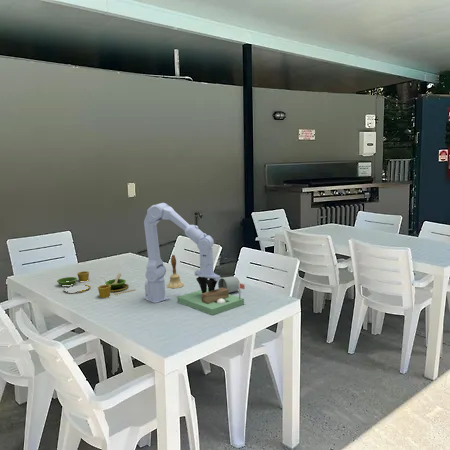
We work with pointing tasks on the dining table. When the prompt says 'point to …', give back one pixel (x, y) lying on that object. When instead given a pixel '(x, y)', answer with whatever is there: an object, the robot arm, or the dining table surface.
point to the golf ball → (221, 301)
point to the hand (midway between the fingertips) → (207, 293)
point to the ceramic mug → (229, 283)
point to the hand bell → (174, 276)
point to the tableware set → (103, 290)
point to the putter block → (215, 295)
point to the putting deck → (211, 308)
